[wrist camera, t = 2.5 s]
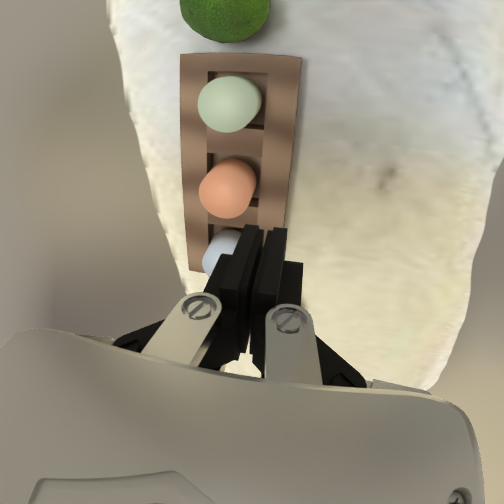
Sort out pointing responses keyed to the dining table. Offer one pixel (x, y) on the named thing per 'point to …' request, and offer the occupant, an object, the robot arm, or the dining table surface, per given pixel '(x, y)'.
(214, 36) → the avocado
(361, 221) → the dining table surface
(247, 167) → the button terracotta
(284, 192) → the board
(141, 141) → the dining table surface
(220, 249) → the button blue
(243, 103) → the button sage
